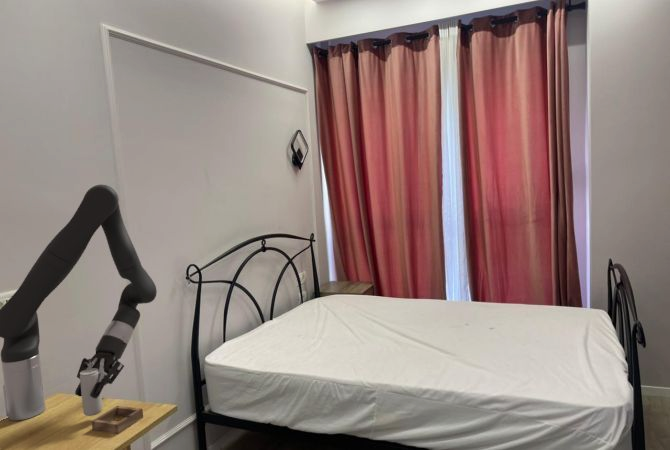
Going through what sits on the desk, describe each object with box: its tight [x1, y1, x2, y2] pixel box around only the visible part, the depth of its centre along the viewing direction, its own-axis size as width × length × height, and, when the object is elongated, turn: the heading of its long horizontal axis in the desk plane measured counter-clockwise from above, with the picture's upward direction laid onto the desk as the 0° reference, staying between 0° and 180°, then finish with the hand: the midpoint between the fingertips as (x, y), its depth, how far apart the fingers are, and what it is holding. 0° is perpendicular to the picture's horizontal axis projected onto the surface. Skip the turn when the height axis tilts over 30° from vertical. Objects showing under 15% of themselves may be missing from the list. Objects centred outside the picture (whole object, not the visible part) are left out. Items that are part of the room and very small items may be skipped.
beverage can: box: [79, 368, 103, 417], centre depth 130 cm, size 5×5×12 cm
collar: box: [91, 405, 144, 435], centre depth 128 cm, size 9×9×3 cm
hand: (85, 396), depth 128 cm, fingers closed on beverage can, 4 cm apart
